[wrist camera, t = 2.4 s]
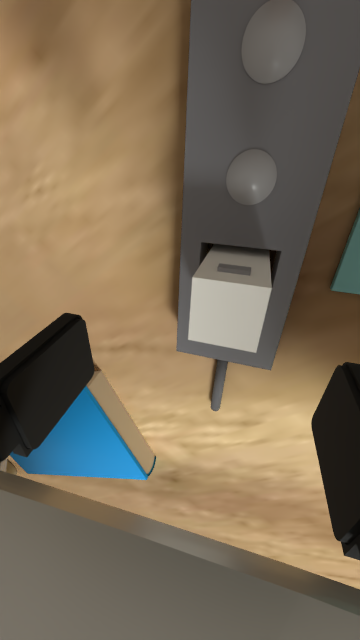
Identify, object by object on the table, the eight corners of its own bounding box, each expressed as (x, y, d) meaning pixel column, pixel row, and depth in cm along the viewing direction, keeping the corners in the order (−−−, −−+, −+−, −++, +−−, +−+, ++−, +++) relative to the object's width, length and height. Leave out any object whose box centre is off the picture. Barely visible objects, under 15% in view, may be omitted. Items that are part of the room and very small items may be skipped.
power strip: (209, -70, 13) (193, -143, 10) (393, -97, 11) (441, -196, 8) (181, 397, 30) (172, 423, 27) (251, 414, 28) (250, 444, 25)
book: (-39, 405, 38) (80, 388, 28) (-13, 385, 42) (101, 363, 31) (29, 476, 45) (148, 485, 34) (47, 453, 48) (159, 455, 38)
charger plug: (269, 243, 19) (273, 283, 12) (258, 295, 21) (256, 353, 15) (216, 238, 20) (192, 272, 13) (210, 288, 22) (187, 339, 15)
